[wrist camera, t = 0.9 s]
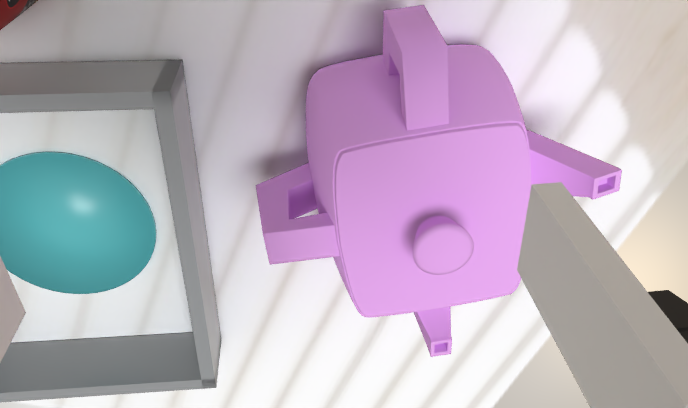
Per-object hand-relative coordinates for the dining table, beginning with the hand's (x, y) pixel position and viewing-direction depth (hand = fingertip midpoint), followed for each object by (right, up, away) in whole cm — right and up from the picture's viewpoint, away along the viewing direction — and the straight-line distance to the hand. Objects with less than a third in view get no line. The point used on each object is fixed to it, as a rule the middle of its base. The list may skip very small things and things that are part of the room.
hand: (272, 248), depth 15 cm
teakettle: (+6, +5, +26) cm, 28 cm away
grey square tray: (-18, -1, +27) cm, 32 cm away
